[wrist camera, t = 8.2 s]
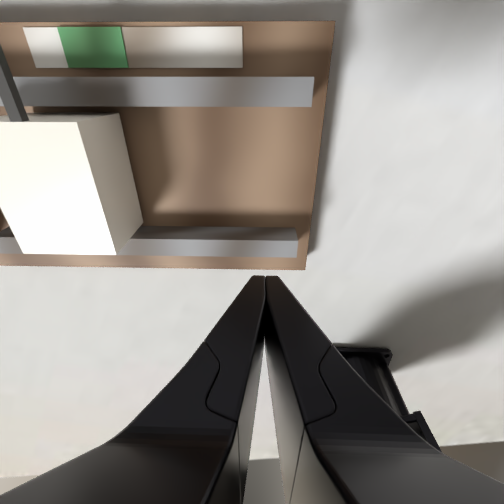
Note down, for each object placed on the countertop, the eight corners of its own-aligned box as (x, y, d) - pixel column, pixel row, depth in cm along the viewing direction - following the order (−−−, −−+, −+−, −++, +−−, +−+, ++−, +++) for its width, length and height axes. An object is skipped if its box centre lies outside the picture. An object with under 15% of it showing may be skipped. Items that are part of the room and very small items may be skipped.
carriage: (102, 37, 13) (46, 21, 10) (143, 222, 18) (116, 255, 15) (-84, 37, 13) (-203, 22, 10) (7, 220, 18) (-50, 252, 15)
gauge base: (328, 26, 14) (372, -9, 9) (302, 258, 21) (317, 320, 16) (-131, 28, 15) (-370, -5, 9) (-4, 254, 22) (-93, 312, 16)
